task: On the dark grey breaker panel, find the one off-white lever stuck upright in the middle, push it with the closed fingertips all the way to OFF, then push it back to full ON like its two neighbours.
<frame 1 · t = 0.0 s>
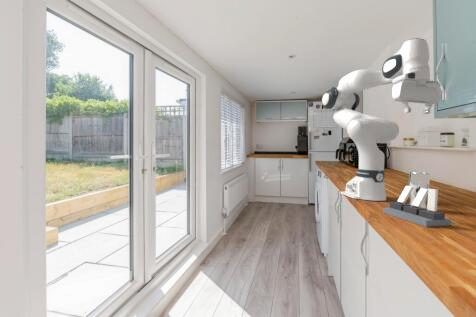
hand: (417, 113, 99), 39 cm above the counter, tool pointing down, fingers open, 8 cm apart
breaker b: (420, 197, 88), point 7 cm above the counter, hinge at 32.0°
breaker c: (432, 199, 81), point 8 cm above the counter, hinge at 0.0°
panel: (414, 218, 87), on the counter
beer glass: (417, 209, 102), on the counter
breaker a: (405, 194, 93), point 7 cm above the counter, hinge at 32.0°
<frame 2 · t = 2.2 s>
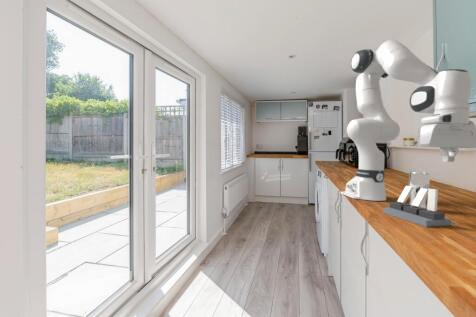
hand: (448, 161, 82), 20 cm above the counter, tool pointing down, fingers closed
nothing on the counter moved.
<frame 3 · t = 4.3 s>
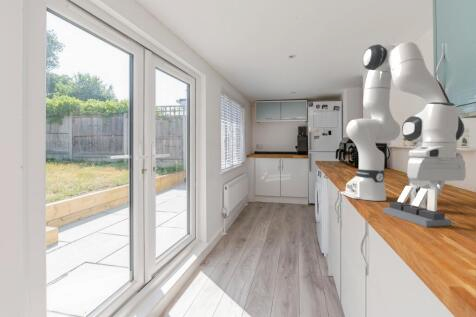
hand: (435, 194, 81), 10 cm above the counter, tool pointing down, fingers closed, pressing on breaker c
breaker c: (432, 199, 81), point 8 cm above the counter, hinge at -1.7°, touching gripper
everything else where it was.
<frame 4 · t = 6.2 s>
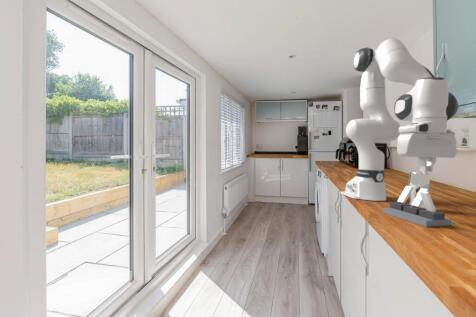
hand: (426, 171, 80), 17 cm above the counter, tool pointing down, fingers closed
breaker c: (427, 201, 81), point 7 cm above the counter, hinge at -29.1°
everything else where it was.
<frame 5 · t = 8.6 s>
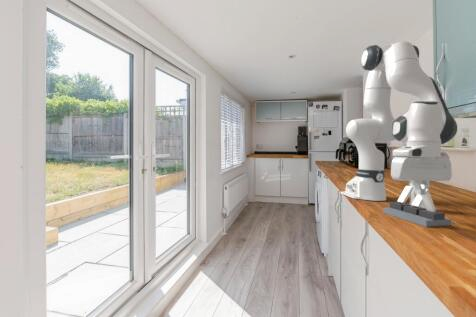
hand: (420, 194, 80), 10 cm above the counter, tool pointing down, fingers closed
breaker c: (427, 201, 81), point 7 cm above the counter, hinge at -27.9°, touching gripper
everything else where it was.
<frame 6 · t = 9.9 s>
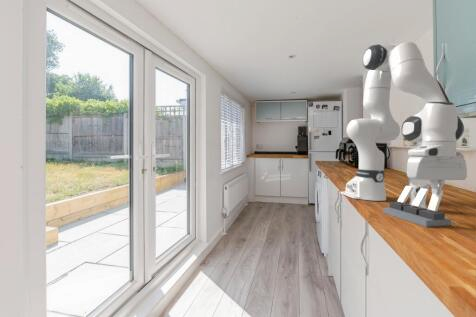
hand: (436, 193, 81), 10 cm above the counter, tool pointing down, fingers closed, pressing on breaker c
breaker c: (435, 200, 81), point 8 cm above the counter, hinge at 17.7°, touching gripper
everything else where it was.
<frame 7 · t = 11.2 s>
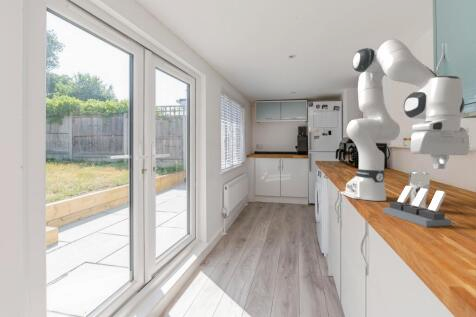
hand: (438, 168, 81), 18 cm above the counter, tool pointing down, fingers closed
breaker c: (436, 201, 82), point 7 cm above the counter, hinge at 28.4°
everything else where it was.
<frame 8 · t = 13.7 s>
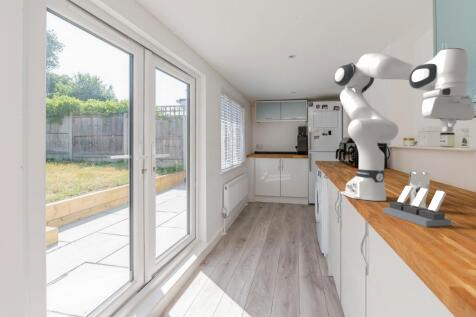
hand: (447, 131, 91), 31 cm above the counter, tool pointing down, fingers closed
breaker c: (436, 201, 82), point 7 cm above the counter, hinge at 28.9°
everything else where it was.
at the end: breaker c at +29° (first picture: +0°); breaker a at +32° (first picture: +32°); breaker b at +32° (first picture: +32°) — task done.
